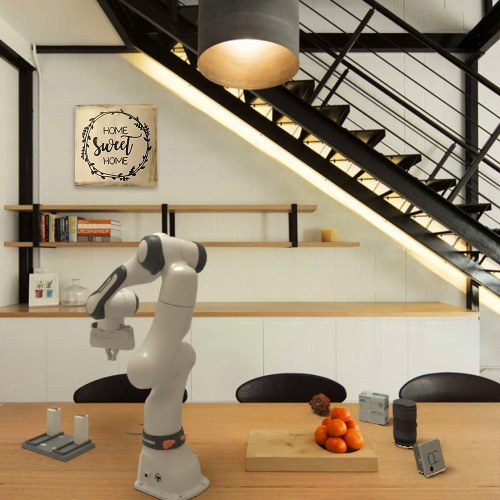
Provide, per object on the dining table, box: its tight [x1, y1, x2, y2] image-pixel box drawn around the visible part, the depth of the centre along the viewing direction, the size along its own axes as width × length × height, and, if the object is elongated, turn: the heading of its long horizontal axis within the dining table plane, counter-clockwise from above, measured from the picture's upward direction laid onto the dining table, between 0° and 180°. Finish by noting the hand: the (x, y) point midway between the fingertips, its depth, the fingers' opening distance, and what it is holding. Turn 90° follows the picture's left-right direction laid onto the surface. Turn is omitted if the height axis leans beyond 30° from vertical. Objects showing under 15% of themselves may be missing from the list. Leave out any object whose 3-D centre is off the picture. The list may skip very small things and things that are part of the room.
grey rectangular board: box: [21, 430, 96, 463], centre depth 145 cm, size 22×12×2 cm, turn 62°
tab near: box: [73, 412, 89, 445], centre depth 145 cm, size 4×3×10 cm
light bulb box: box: [358, 390, 390, 426], centre depth 170 cm, size 11×7×11 cm, turn 58°
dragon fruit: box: [308, 392, 331, 416], centre depth 179 cm, size 8×8×12 cm
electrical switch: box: [412, 437, 447, 476], centre depth 131 cm, size 9×5×9 cm, turn 121°
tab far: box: [46, 405, 62, 436], centre depth 152 cm, size 4×3×10 cm
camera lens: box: [391, 398, 418, 447], centre depth 149 cm, size 8×8×15 cm
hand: (111, 360), depth 162 cm, fingers closed
